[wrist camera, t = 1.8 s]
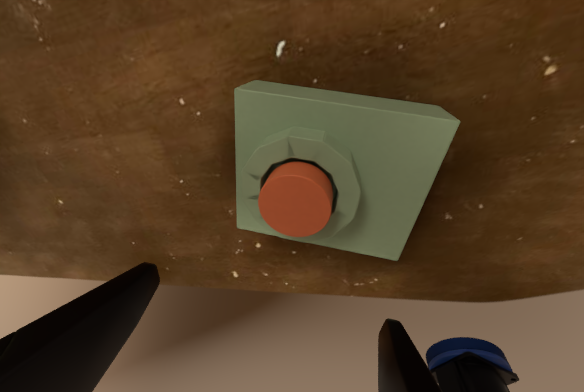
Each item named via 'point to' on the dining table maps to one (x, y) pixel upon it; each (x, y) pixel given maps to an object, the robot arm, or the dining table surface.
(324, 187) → the lid button
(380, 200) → the push button box
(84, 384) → the robot arm
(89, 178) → the dining table surface
